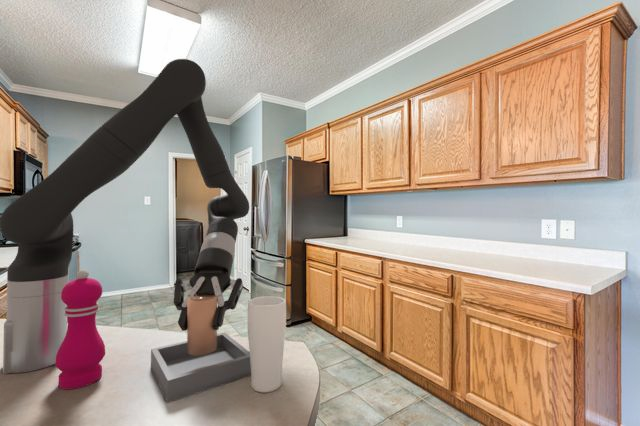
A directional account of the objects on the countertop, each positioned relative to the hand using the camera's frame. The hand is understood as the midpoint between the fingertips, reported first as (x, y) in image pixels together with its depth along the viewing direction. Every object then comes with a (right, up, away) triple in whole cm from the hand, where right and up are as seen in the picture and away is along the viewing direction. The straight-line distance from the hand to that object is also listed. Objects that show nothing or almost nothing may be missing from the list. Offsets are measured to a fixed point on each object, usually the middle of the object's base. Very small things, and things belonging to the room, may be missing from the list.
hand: (199, 328), depth 59 cm
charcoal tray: (0, -9, +2) cm, 9 cm away
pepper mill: (-21, -9, -2) cm, 23 cm away
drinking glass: (+13, -9, -4) cm, 16 cm away
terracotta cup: (0, -5, +2) cm, 5 cm away
